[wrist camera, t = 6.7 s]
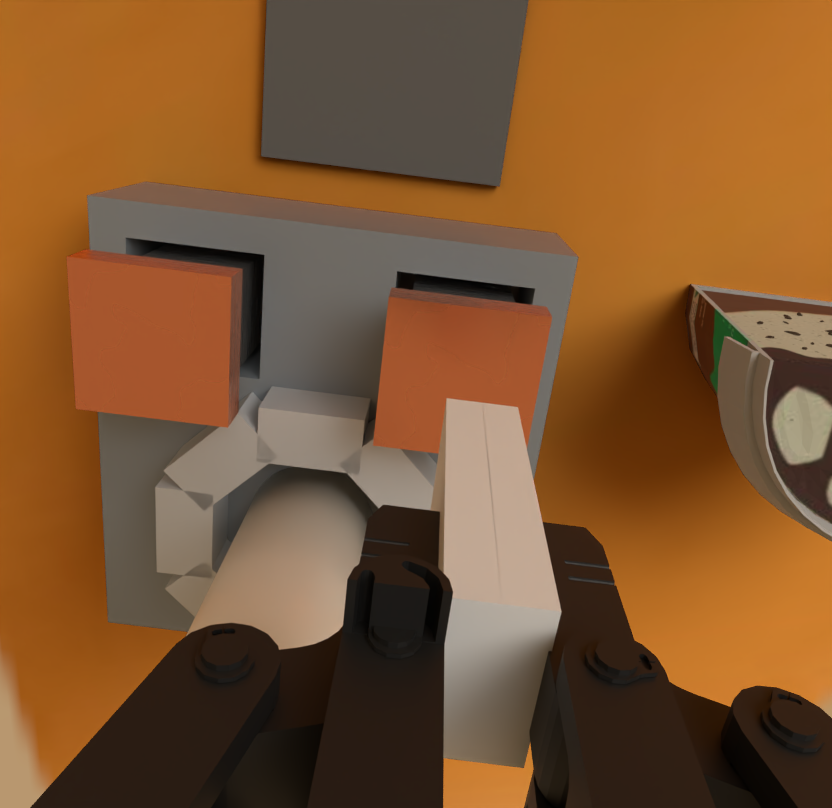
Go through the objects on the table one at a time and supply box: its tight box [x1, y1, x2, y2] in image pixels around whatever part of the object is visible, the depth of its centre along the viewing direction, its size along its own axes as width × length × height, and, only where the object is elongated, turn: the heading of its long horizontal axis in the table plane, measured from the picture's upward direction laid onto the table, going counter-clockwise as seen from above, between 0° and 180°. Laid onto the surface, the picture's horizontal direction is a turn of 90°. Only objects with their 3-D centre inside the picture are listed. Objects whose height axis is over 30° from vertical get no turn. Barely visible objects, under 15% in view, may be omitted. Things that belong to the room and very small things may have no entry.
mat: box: [261, 0, 528, 186], centre depth 26 cm, size 9×9×1 cm
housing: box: [87, 182, 578, 632], centre depth 28 cm, size 17×16×7 cm
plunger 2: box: [373, 274, 552, 454], centre depth 24 cm, size 5×5×7 cm
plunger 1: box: [67, 243, 264, 428], centre depth 24 cm, size 5×5×7 cm
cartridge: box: [186, 466, 372, 650], centre depth 21 cm, size 5×5×14 cm
